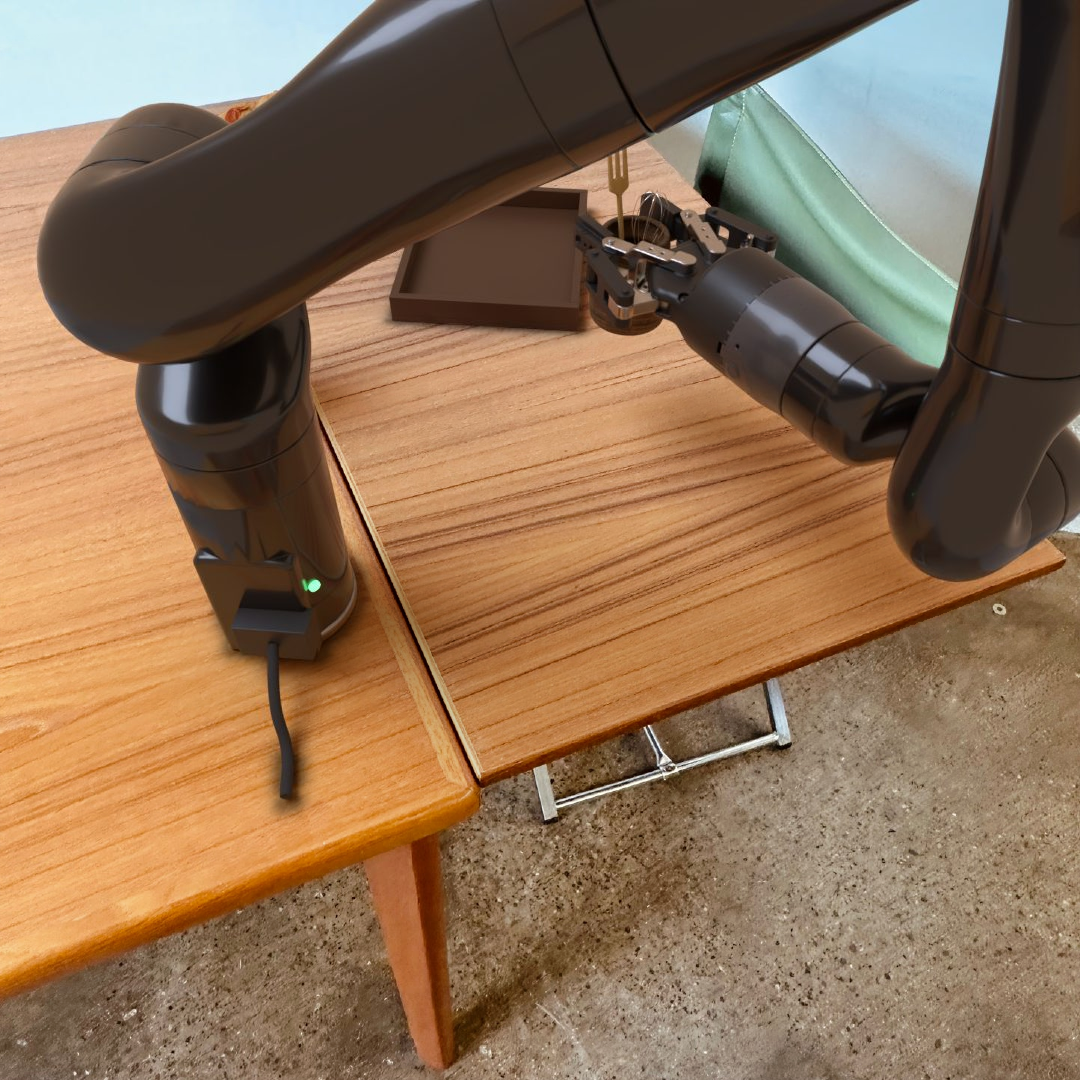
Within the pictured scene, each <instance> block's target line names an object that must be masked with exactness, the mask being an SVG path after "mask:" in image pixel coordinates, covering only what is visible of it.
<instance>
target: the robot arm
mask: <svg viewBox="0 0 1080 1080" xmlns="http://www.w3.org/2000/svg"><path fill="white" fill-rule="evenodd" d="M918 2H920V0H374V1H373V2H372V3H370V5H368V6H367V7H366V8H365V9H364V10H363V11H361V13H360V14H358V15H357V16H356V17H355V18H354V19H353V20H352V21H351V22H350V23H349V24H348V25H346V27H345V28H344V29H343V30H342V31H341V32H339V34H337V35H336V36H335V37H334V38H333V39H332V40H331V41H330V42H329V43H328V44H327V45H325V47H324V48H323V49H322V50H321V51H320V52H319V53H318V54H317V55H316V56H315V57H313V59H311V61H309V62H308V63H307V64H306V65H305V66H304V67H303V68H302V69H301V70H300V71H299V72H298V73H296V75H295V76H294V77H292V79H290V81H288V82H287V83H286V84H285V85H283V86H282V87H281V88H280V89H278V92H276V93H275V94H274V95H273V96H272V97H270V98H269V99H268V100H267V101H265V102H264V103H262V104H261V105H259V106H258V107H256V108H255V109H254V110H252V111H251V112H249V113H248V114H246V115H245V116H243V117H241V118H240V119H238V120H236V121H235V122H233V123H231V124H230V123H229V122H227V121H226V120H224V119H223V118H221V117H219V116H217V114H215V113H213V112H211V111H209V110H206V109H204V108H202V107H199V106H195V105H192V104H187V103H180V102H179V103H178V102H158V103H150V104H147V105H141V106H140V107H137V108H134V109H132V110H131V111H128V112H127V113H125V114H124V115H122V116H121V117H119V118H118V119H117V120H115V121H114V122H113V123H112V124H111V125H110V126H109V127H108V129H106V130H105V131H104V133H103V134H102V135H101V136H100V137H99V138H98V140H97V141H96V143H95V144H94V145H93V146H92V148H91V149H90V151H89V152H88V153H87V155H86V156H85V157H84V158H83V159H82V161H81V162H80V164H78V166H77V167H76V168H75V170H74V171H73V172H72V173H71V175H70V176H69V177H68V178H67V180H66V181H65V183H63V184H62V186H61V187H60V189H59V190H58V192H57V193H56V195H55V196H54V198H53V200H52V201H51V202H50V204H49V206H48V207H47V210H46V213H45V216H44V219H43V221H42V225H41V228H40V231H39V235H38V241H37V246H36V268H37V276H38V278H37V279H38V282H39V284H40V287H41V290H42V293H43V297H44V299H45V301H46V303H47V304H48V306H49V308H50V310H51V312H52V313H53V315H54V317H55V318H56V319H57V320H58V322H59V323H60V324H61V325H62V327H64V329H65V330H66V331H68V333H70V334H71V335H72V336H73V337H74V338H76V339H77V340H78V341H80V342H81V343H83V344H84V345H86V346H88V347H89V348H92V349H93V350H95V351H97V352H99V353H101V354H103V355H105V356H108V357H111V358H114V359H117V360H119V361H123V362H126V363H132V364H138V365H137V372H136V379H135V387H134V388H135V391H134V397H135V405H136V409H137V410H136V411H137V414H138V417H139V419H140V421H141V424H142V427H143V430H144V431H145V434H146V436H147V438H148V441H149V442H150V446H151V447H152V450H153V452H154V455H155V457H156V459H157V461H158V464H159V467H160V470H161V472H162V473H163V477H164V478H165V480H166V484H167V486H168V489H169V491H170V494H171V495H172V499H173V501H174V503H175V506H176V507H177V510H178V512H179V514H180V517H181V519H182V521H183V524H184V526H185V529H186V531H187V533H188V536H189V538H190V540H191V544H192V545H193V548H194V549H195V554H194V557H193V558H192V564H193V566H194V569H195V571H196V573H197V576H198V577H199V580H200V583H201V585H202V587H203V590H204V592H205V593H206V597H207V598H208V601H209V603H210V605H211V608H212V610H213V613H214V615H215V617H216V619H217V622H218V624H219V626H220V628H221V630H222V633H223V636H224V638H225V640H226V642H227V645H228V647H229V648H230V649H232V650H239V652H240V654H241V655H242V656H252V657H253V656H254V657H266V658H267V659H266V660H267V666H266V667H267V668H266V669H267V673H266V674H267V678H266V679H267V697H268V706H269V712H270V717H271V720H272V724H273V727H274V730H275V733H276V736H277V740H278V742H279V743H278V745H279V749H280V756H281V769H280V771H281V774H280V784H279V798H280V799H282V800H289V799H291V798H292V797H293V788H294V787H293V786H294V773H295V771H294V770H295V769H294V768H295V767H294V766H295V765H294V764H295V762H294V749H293V744H292V743H293V742H292V739H291V738H292V737H291V735H290V732H289V728H288V726H287V725H288V724H287V722H286V718H285V715H284V711H283V707H282V698H281V687H280V658H281V659H282V658H283V659H294V660H295V659H296V660H308V661H314V660H315V657H316V655H318V654H319V653H320V652H321V647H322V644H323V643H324V641H326V640H328V639H329V638H330V637H332V636H333V635H334V634H335V633H336V632H338V631H339V630H340V629H341V628H342V627H343V626H344V625H345V624H346V622H347V621H348V620H349V618H350V617H351V615H352V613H353V611H354V608H355V606H356V604H357V598H358V584H357V579H356V574H355V571H354V568H353V566H352V563H351V559H350V558H351V557H350V555H349V550H348V545H347V543H346V538H345V534H344V528H343V525H342V519H341V515H340V511H339V507H338V502H337V498H336V493H335V489H334V484H333V479H332V475H331V471H330V467H329V463H328V458H327V453H326V449H325V445H324V440H323V436H322V435H323V434H322V431H321V426H320V421H319V417H318V412H317V409H316V404H315V399H314V395H313V391H312V385H311V365H312V334H311V333H312V332H311V327H310V326H311V325H310V319H309V318H310V317H309V312H308V307H307V301H308V300H309V299H311V298H312V297H314V296H317V294H319V293H321V292H323V291H324V290H325V289H327V288H329V287H330V286H332V285H334V284H336V283H338V282H339V281H341V280H342V279H344V278H346V277H348V276H349V275H352V274H353V273H355V272H357V271H359V270H361V269H363V268H365V267H366V266H368V265H370V264H373V263H374V262H376V261H378V260H381V259H383V258H385V257H387V256H390V255H391V254H394V253H396V252H398V251H400V250H402V249H403V250H404V248H405V247H407V246H410V245H412V244H414V243H417V242H419V241H421V240H424V239H426V238H428V237H430V236H433V235H435V234H437V233H439V232H442V231H444V230H446V229H448V228H451V227H453V226H455V225H457V224H460V223H462V222H464V221H466V220H468V219H470V218H472V217H474V216H476V215H478V214H480V213H483V212H485V211H487V210H489V209H491V208H493V207H495V206H497V205H500V204H502V203H504V202H506V201H508V200H510V199H512V198H515V197H517V196H519V195H521V194H523V193H526V192H528V191H530V190H533V189H535V188H537V187H543V186H544V185H546V184H550V183H551V182H554V181H556V180H559V179H562V178H564V177H566V176H569V175H571V174H574V173H576V172H579V171H581V170H583V169H584V168H586V167H589V166H591V165H593V164H595V163H597V162H600V161H602V160H605V159H606V158H607V157H608V156H610V155H612V156H613V155H615V153H617V152H619V153H620V152H622V150H623V149H625V148H627V149H628V148H630V147H631V146H632V147H633V146H634V145H636V144H638V143H641V142H643V141H645V140H647V139H649V138H651V137H653V136H655V134H661V133H662V132H665V131H666V130H668V129H670V128H672V127H674V126H675V125H678V124H679V123H681V122H683V121H684V120H687V119H689V118H690V117H692V116H694V115H696V114H698V113H700V112H702V111H705V110H706V109H708V108H710V107H712V106H714V105H715V104H718V103H719V102H722V101H725V100H726V99H728V98H730V97H732V96H734V95H736V94H738V93H741V92H743V91H745V90H746V89H749V88H752V87H754V86H756V85H757V84H759V83H762V82H763V81H766V80H768V79H769V78H772V77H774V76H776V75H778V74H780V73H782V72H784V71H787V70H789V69H791V68H792V67H795V66H796V65H799V64H801V63H803V62H805V61H806V60H809V59H810V58H812V57H814V56H816V55H818V54H820V53H822V52H824V51H826V50H828V49H830V48H832V47H833V46H835V45H838V44H839V43H841V42H843V41H845V40H847V39H849V38H851V37H853V36H854V35H856V34H858V33H860V32H861V31H864V30H865V29H868V28H869V27H871V26H873V25H875V24H876V23H878V22H880V21H882V20H884V19H886V18H888V17H890V16H891V15H894V14H896V13H897V12H900V11H902V10H904V9H905V8H908V7H909V6H912V5H914V4H915V3H918ZM1003 38H1004V39H1003V43H1002V44H1003V45H1002V53H1001V58H1000V59H1001V60H1000V67H999V72H998V79H997V80H998V81H997V86H996V94H995V99H994V106H993V111H992V117H991V124H990V129H989V135H988V141H987V146H986V152H985V157H984V162H983V168H982V173H981V177H980V184H979V189H978V194H977V197H976V199H977V200H976V203H975V209H974V212H973V213H974V214H973V218H972V223H971V227H970V232H969V236H968V241H967V246H966V249H965V254H964V259H963V264H962V268H961V271H960V276H959V280H958V285H957V290H956V295H955V300H954V304H953V309H952V314H951V319H950V323H949V329H948V334H947V340H946V344H945V345H946V346H945V351H944V356H943V359H942V362H941V364H940V366H939V367H937V366H934V365H931V364H928V363H926V362H925V363H924V362H921V361H919V360H917V359H915V358H913V357H912V356H910V355H909V354H908V353H906V352H905V351H903V350H902V349H901V348H900V347H898V346H896V345H895V344H894V343H892V342H891V341H889V340H888V339H887V338H885V337H884V336H883V335H881V334H879V333H878V332H876V331H875V330H873V329H872V328H870V327H869V326H868V325H866V324H864V323H863V322H861V320H859V319H858V318H857V317H855V316H854V315H853V314H852V313H851V312H850V311H849V310H848V309H847V308H846V307H845V306H844V305H843V304H842V303H840V302H839V301H838V300H837V299H835V298H834V297H832V296H831V295H830V294H828V293H827V292H825V291H824V290H823V289H820V288H819V287H818V286H816V285H815V284H814V283H812V282H810V281H809V280H807V279H806V278H804V277H803V276H802V275H800V274H799V273H797V272H796V271H794V270H792V269H791V268H790V267H788V266H787V265H785V264H784V263H782V262H781V261H779V260H778V259H776V258H775V255H776V251H777V246H778V242H779V238H780V237H779V236H778V234H776V233H775V232H772V231H770V230H767V229H765V228H763V227H761V226H759V225H758V224H755V223H753V222H751V221H748V220H746V219H744V218H742V217H739V216H738V215H735V214H734V213H732V212H729V211H726V210H725V209H723V208H720V207H717V206H708V207H707V208H705V213H701V214H698V213H697V211H695V210H693V209H681V207H679V206H678V205H676V204H675V203H674V202H671V201H670V200H668V199H667V202H668V204H667V203H666V200H665V199H666V198H667V197H664V196H663V197H664V198H665V199H664V198H663V197H662V196H660V195H658V196H659V198H660V200H659V198H658V196H656V195H655V194H654V193H655V192H654V193H647V192H646V194H645V196H644V193H642V194H643V195H642V194H641V195H642V196H641V195H640V196H641V197H640V204H639V206H640V205H641V203H642V200H643V201H644V200H645V199H646V198H647V197H648V196H650V195H651V196H650V197H648V198H647V199H646V200H645V201H644V202H643V204H642V206H641V210H640V209H639V212H640V216H646V217H649V218H650V217H651V218H652V219H655V220H657V221H659V222H660V219H661V220H662V222H661V223H662V224H663V225H665V223H666V225H665V226H666V227H667V229H668V230H669V233H670V241H671V243H673V242H674V241H675V247H670V249H664V248H661V247H659V246H656V245H653V244H651V243H648V242H645V241H641V242H639V243H638V244H637V245H634V244H632V243H629V242H626V241H623V240H621V239H618V238H615V237H614V236H615V234H613V233H612V232H611V231H609V230H608V229H607V228H605V227H604V226H603V224H602V223H600V222H599V221H598V220H597V219H595V218H593V217H592V216H591V215H590V214H588V213H585V214H582V215H579V216H576V218H575V224H574V242H573V243H574V245H575V247H576V248H578V249H579V250H580V251H581V252H583V255H585V261H586V262H585V276H584V281H583V283H584V284H583V286H584V287H585V288H586V290H587V291H588V294H589V293H590V294H591V295H592V297H593V298H594V299H595V301H596V302H597V303H598V305H599V306H600V307H601V309H602V310H603V311H604V313H605V314H606V315H607V317H608V318H609V319H610V321H611V322H612V324H613V325H614V326H615V327H616V328H619V329H627V328H629V327H630V326H631V324H632V317H633V316H637V315H642V314H646V313H651V312H652V313H653V314H654V315H655V316H657V317H659V318H662V319H663V320H666V321H668V322H671V323H673V324H674V325H675V326H676V328H677V330H678V331H679V333H680V335H681V336H682V339H683V340H684V342H685V344H686V345H687V346H688V347H689V349H691V350H692V351H693V352H694V353H696V354H697V355H698V356H700V358H702V359H703V360H704V361H706V362H707V363H709V365H710V366H712V367H713V368H714V369H715V370H717V371H718V372H719V373H721V374H722V375H723V376H724V377H725V378H726V379H728V380H729V381H730V382H731V383H733V384H734V385H735V386H736V387H738V388H739V389H740V390H741V391H743V392H744V393H745V394H746V395H747V396H749V398H751V399H752V400H754V401H755V402H757V403H758V404H760V405H761V406H763V407H765V408H766V409H768V410H769V411H771V412H773V413H774V414H776V415H778V416H780V417H781V418H783V419H784V420H785V421H786V422H787V423H788V424H790V425H791V426H792V427H794V428H795V429H796V430H798V432H800V433H801V434H803V435H804V436H805V437H806V438H808V439H809V440H810V441H811V442H813V443H814V444H815V445H816V446H817V447H819V448H820V449H821V450H822V451H824V452H825V453H826V454H827V455H829V456H830V457H832V458H833V459H835V460H836V461H838V462H839V463H841V464H843V465H846V466H849V467H853V468H854V467H855V468H865V467H870V466H875V465H879V464H883V463H888V462H893V464H892V467H891V471H890V474H889V477H888V482H887V488H886V495H885V496H886V498H885V503H886V504H885V506H886V507H885V508H886V519H887V523H888V527H889V531H890V533H891V536H892V538H893V541H894V543H895V545H896V547H897V549H898V550H899V551H900V553H901V555H902V556H903V557H904V558H905V559H906V561H908V562H909V563H910V564H911V565H912V566H913V567H914V568H915V569H917V570H918V571H920V572H921V573H922V574H924V575H926V576H928V577H931V578H932V579H933V578H934V579H937V580H941V581H944V582H945V581H946V582H949V583H950V582H951V583H964V582H966V583H967V582H971V581H972V582H973V581H977V580H980V579H983V578H985V577H988V576H991V575H993V574H994V573H997V572H998V571H1000V570H1002V569H1003V568H1005V567H1007V566H1008V565H1009V564H1011V563H1012V562H1014V561H1015V560H1017V559H1019V557H1021V556H1023V555H1024V554H1025V553H1027V552H1028V551H1030V550H1031V549H1033V548H1034V547H1036V546H1037V545H1039V544H1040V543H1042V542H1043V541H1044V540H1046V539H1047V538H1049V537H1051V536H1052V535H1054V534H1055V533H1057V532H1059V531H1060V530H1062V529H1063V528H1065V527H1066V526H1067V525H1069V524H1070V523H1072V522H1073V521H1074V520H1075V519H1076V518H1077V517H1079V515H1080V439H1079V438H1078V436H1077V435H1076V434H1075V433H1074V431H1073V430H1072V429H1071V428H1070V427H1068V426H1069V425H1070V424H1071V423H1072V422H1073V421H1074V420H1075V419H1077V418H1078V417H1079V416H1080V0H1008V4H1007V13H1006V20H1005V29H1004V37H1003ZM650 192H653V191H652V190H650ZM652 194H653V195H652ZM654 196H655V198H656V200H655V198H654ZM643 197H644V199H643ZM653 199H654V201H653ZM660 201H661V204H660ZM652 202H653V205H652ZM654 202H655V204H654ZM661 205H662V217H663V219H662V217H661ZM665 205H666V208H665ZM668 205H669V212H668ZM651 206H652V208H651ZM653 206H654V208H653ZM650 209H651V212H650ZM652 209H653V212H652ZM664 209H665V212H664ZM649 213H650V215H649ZM651 213H652V216H651ZM663 213H664V216H663ZM667 214H668V217H667ZM666 219H667V221H666ZM721 227H722V228H724V229H725V230H727V231H728V236H727V237H728V238H726V237H724V236H723V235H720V230H721ZM619 256H620V257H622V258H625V259H626V260H627V261H628V268H625V267H623V266H620V265H618V264H619ZM646 261H649V262H650V265H649V272H648V281H647V280H646V278H645V269H646Z"/></svg>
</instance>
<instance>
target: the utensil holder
mask: <svg viewBox="0 0 1080 1080" xmlns="http://www.w3.org/2000/svg"><path fill="white" fill-rule="evenodd" d="M627 149H628V148H625V149H623V150H621V155H622V156H621V157H622V170H621V157H620V151H619V152H617V153H615V154H614V165H615V167H613V166H614V165H613V155H610V156H608V157H606V158H607V160H606V161H607V181H608V182H607V183H608V191H609V193H612V194H613V195H615V197H616V206H617V207H616V209H617V210H616V211H617V216H615V217H612V218H610V219H608V220H607V221H605V222H604V223H603V224H602V225H603V226H604V227H605V228H607V229H608V230H609V231H611V232H612V233H613V234H615V236H614V237H615V238H618V239H621V240H623V241H626V242H629V243H632V244H634V245H637V244H638V243H639V242H641V241H645V242H648V243H651V244H653V245H656V246H659V247H661V248H664V249H671V248H672V247H671V243H672V242H671V241H670V233H669V230H668V229H667V227H666V226H665V225H666V223H665V225H663V224H662V223H661V222H662V220H661V219H660V222H659V221H657V220H655V219H652V218H651V217H650V218H649V217H646V216H640V210H641V206H642V204H643V202H644V201H645V200H646V199H647V198H648V197H650V196H651V195H650V196H648V197H647V198H646V199H645V200H644V201H643V200H642V203H641V202H640V203H641V205H640V204H639V207H638V210H637V214H635V210H636V207H637V204H638V201H639V199H641V196H642V195H643V194H644V196H645V194H646V193H654V194H655V195H656V196H658V198H659V196H660V197H663V198H664V199H665V198H666V199H665V200H666V203H667V204H668V202H667V200H668V197H667V195H666V193H664V192H662V191H659V190H658V189H656V191H655V190H654V189H647V190H646V191H645V192H644V193H642V194H641V195H639V196H638V198H637V200H635V201H636V202H635V205H634V209H633V212H632V214H624V208H623V195H624V193H625V192H626V191H627V190H628V189H629V186H630V181H629V179H630V178H629V163H628V150H627ZM614 169H615V177H614ZM621 171H622V172H621ZM651 191H652V192H651ZM661 194H663V195H664V196H663V195H661ZM652 195H653V194H652ZM654 198H655V196H654ZM643 199H644V197H643ZM655 200H656V198H655ZM659 200H660V198H659ZM653 201H654V199H653ZM654 204H655V202H654ZM660 204H661V201H660ZM652 205H653V202H652ZM651 208H652V206H651ZM653 208H654V206H653ZM665 208H666V205H665ZM650 212H651V209H650ZM652 212H653V209H652ZM664 212H665V209H664ZM668 212H669V205H668ZM649 215H650V213H649ZM651 216H652V213H651ZM663 216H664V213H663ZM661 217H662V205H661ZM667 217H668V214H667ZM662 219H663V217H662ZM666 221H667V219H666ZM618 265H620V266H623V267H625V268H628V261H627V260H626V259H625V258H622V257H620V256H619V264H618ZM649 265H650V262H649V261H646V269H645V278H646V280H647V281H648V272H649ZM588 310H589V315H590V317H591V319H592V322H593V323H594V324H595V325H596V326H597V327H599V328H600V329H602V330H604V331H605V332H607V333H611V334H614V335H617V336H623V337H625V336H626V337H633V336H641V335H645V334H648V333H650V332H652V331H654V330H656V329H657V328H658V327H659V326H660V325H661V323H662V322H663V320H664V319H662V318H659V317H657V316H655V315H654V314H653V313H652V312H651V313H646V314H642V315H637V316H633V317H632V324H631V326H630V327H629V328H627V329H619V328H616V327H615V326H614V325H613V324H612V322H611V321H610V319H609V318H608V317H607V315H606V314H605V313H604V311H603V310H602V309H601V307H600V306H599V305H598V303H597V302H596V301H595V299H594V298H593V297H592V295H591V294H590V293H589V292H588Z"/></svg>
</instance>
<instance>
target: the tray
mask: <svg viewBox="0 0 1080 1080" xmlns="http://www.w3.org/2000/svg"><path fill="white" fill-rule="evenodd" d="M588 194H589V190H588V189H585V188H584V189H582V188H565V187H563V188H562V187H544V186H540V187H537V188H535V189H533V190H530V191H528V192H526V193H523V194H521V195H519V196H517V197H515V198H512V199H510V200H508V201H506V202H504V203H502V204H500V205H497V206H495V207H493V208H491V209H489V210H487V211H485V212H483V213H480V214H478V215H476V216H474V217H472V218H470V219H468V220H466V221H464V222H462V223H460V224H457V225H455V226H453V227H451V228H448V229H446V230H444V231H442V232H439V233H437V234H435V235H433V236H430V237H428V238H426V239H424V240H421V241H419V242H417V243H414V244H412V245H410V246H407V247H405V248H403V251H402V254H401V258H400V261H399V264H398V268H397V271H396V274H395V276H394V277H395V278H394V280H393V283H392V287H391V290H390V293H389V296H388V301H389V307H390V308H389V309H390V314H391V316H390V317H391V321H398V322H414V323H415V322H416V323H429V324H430V323H433V324H448V325H449V324H450V325H451V324H452V325H467V326H468V325H469V326H484V327H485V326H486V327H504V328H521V329H539V330H553V331H554V330H557V331H573V332H578V329H579V328H578V327H579V315H580V303H581V290H582V277H583V265H584V253H583V252H581V251H580V250H579V249H578V248H576V247H575V245H574V243H573V242H574V224H575V218H576V216H579V215H582V214H585V213H587V212H588V198H589V197H588V196H589V195H588ZM587 214H588V213H587Z"/></svg>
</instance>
